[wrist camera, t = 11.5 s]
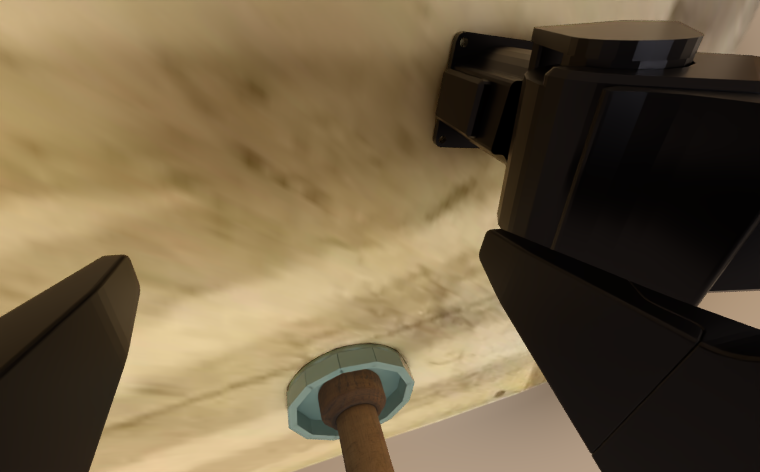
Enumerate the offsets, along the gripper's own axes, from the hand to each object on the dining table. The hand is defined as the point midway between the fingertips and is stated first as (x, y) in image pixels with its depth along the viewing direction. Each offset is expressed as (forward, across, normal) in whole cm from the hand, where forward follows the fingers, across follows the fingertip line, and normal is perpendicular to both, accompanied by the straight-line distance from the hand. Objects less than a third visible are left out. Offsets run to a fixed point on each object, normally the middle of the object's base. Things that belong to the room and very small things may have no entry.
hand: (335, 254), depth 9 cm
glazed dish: (+13, -5, +27) cm, 30 cm away
